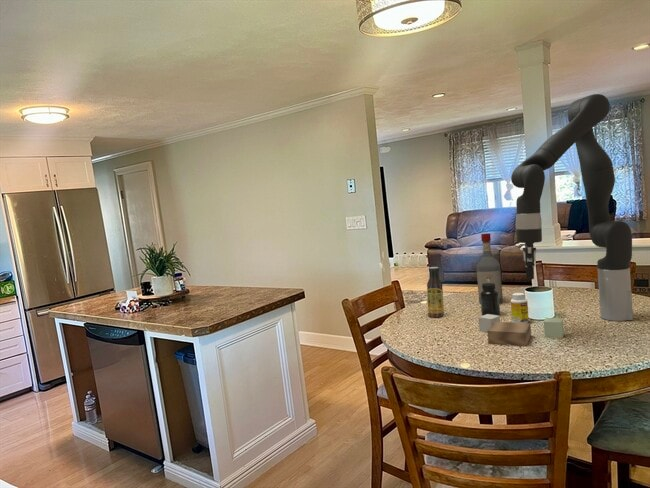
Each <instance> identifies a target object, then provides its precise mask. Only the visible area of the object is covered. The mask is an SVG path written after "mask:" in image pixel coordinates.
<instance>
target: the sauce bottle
mask: <svg viewBox="0 0 650 488" xmlns="http://www.w3.org/2000/svg"><path fill="white" fill-rule="evenodd" d="M439 271H440V267H438V266H431V267H428V274H429V275H428V276H429V277H428V280H427V283H426V294H427V295H426V298H427V300H426V301H427V313H428V316H429V317H431V318H441V317H443V316H444V314H445V312H444V311H445V310H444V309H445V308H444V290H443V282H442V281H441V279H440V272H439Z"/></svg>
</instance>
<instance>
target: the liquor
mask: <svg viewBox="0 0 650 488" xmlns="http://www.w3.org/2000/svg"><path fill="white" fill-rule="evenodd" d="M480 235H481V236H480V237H481V242H482V257H481V259H480V260H479V262H478V263H477V264H476V278H477V279H476V280H477V290H478V302H479V304H480V305H481V300H480V293H481V292H482V291H483V289H482V284H486V283H494V284H495V287H496V289H495V290H496V291H497V292H498V293H499V304H500V305H502V302H503V299H504V297H503V287H502V286H503V285H502V284H503V283H502V274H501V273H502V271H501V264H500V262H499V261H498V260H497V259H496V258H495V257H494V256H493V253H492V250H491V249H492V247H491V242H492V241H491V240H492V239H491V233H488V232H487V233H481V234H480Z"/></svg>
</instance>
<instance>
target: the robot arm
mask: <svg viewBox="0 0 650 488" xmlns="http://www.w3.org/2000/svg"><path fill="white" fill-rule="evenodd" d="M610 108H611V105H610V101H609V99H608V98H607V96H605V95H603V94H601V93H594V94H590V95H587V96H585V97H581V98H580V99H576V100H574V101H572V102H571V103H570V105H569V106H568V109H567V120H568V123H567V124H566V125H565V126H564V127H562V128H560V129H559V130H557V132H556V131H555V133H554V134H552V135H551V136H549V137H548V138H547V139H546V140H545V141H544V142H543V143H542V144H541V145H540V146H539V147H538V149H537V150H536V151H535V152H534V153H533V154H532V155H530V156H529V157H528V158H526V159H525V160H523V161H522V162H521V163H519V164H518V166H516V167H515V168H514V169H513V171H512V173H511V176H510V180H511V183H512V185H513V186H514V187H516V188H519V189H523V192H522V194H521V195H520V196H518V197H517V198H516V203H515V204H516V219H515V229H516V231H515V232H516V233H515V234H516V236H515V237H516V238H515V239H516V242H517V243H520V244H522V243H523V244H524V247H522V254H523V262H524V266H525V274H526V275H525V277H526V278H525V279H526V280H534V279H535V271H534V270H535V266H536V265H535V264H536V263H535V262H536V259H537V258H536V254H537V248H536V247H534V244H535V243H541V242H542V241H543V230H542V227H543V226H542V224H543V223H542V215H541V198H542V196H543V190H544V186H545V180H546V174H545V171H546V170H549V169H550V168H552V167H553V166H554V165H555V164H556V163H557V162H559V161H558V160H560V159H561V158H562V156H564V154H566V152H567V151H568V150H569V149H571V147H572V146H573V145H575V147H576V154H577V156H578V162H579V167H580V173H581V175H580V176H581V178H582V184H583V188H584V193H585V201H586V205H587V206H586V207H587V215H588V216H587V217H588V230H589V231H588V232H589V236H590V240H591V242H592V244H594V245H595V246H596V247H599V248H605V249H606V251H605V252H606V253H605V256H604V257H602V258H600V259H598V260H597V263H596V264H597V265H596V266H597V279H598V280H597V281H598V297H599V309H600V310H599V313H600V318H601V319H603V320H607V321H612V322H613V321H614V322H615V321H616V322H620V321H621V322H622V321H625V322H626V321H633V320H634V312H633V310H634V308H633V296H632V295H633V294H632V284H631V283H632V282H631V265H630V264H631V261H632V259H633V235H632V230H631V228H630V226H629V224H628V223H627V222H625V221H622V220H611V217H610V211H609V203H610V198H611V195H612V194H613V190H614V187H615V183H616V178H615V176H616V175H615V171H614V166H613V165H614V164H613V161H612V159H611V157H610V156H609V154H608V152H606V151H605V149H604V148H603V147H602V145H600V144H599V142H598V140H597V138H596V136H595V132H594V127H595V126H597V125H598V124H599V123H601V122H602V121H603V120H604V119H606V117H608V114H609V113H610V110H611V109H610Z"/></svg>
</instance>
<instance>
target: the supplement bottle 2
mask: <svg viewBox="0 0 650 488" xmlns="http://www.w3.org/2000/svg"><path fill="white" fill-rule="evenodd" d="M528 305H529V304H528V299H526V295H525V293H523V292H515V293H512V298H511V299H510V310H511V311H510V313H511V321H512V322H515V323H529V319H530V318H529V306H528Z"/></svg>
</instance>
